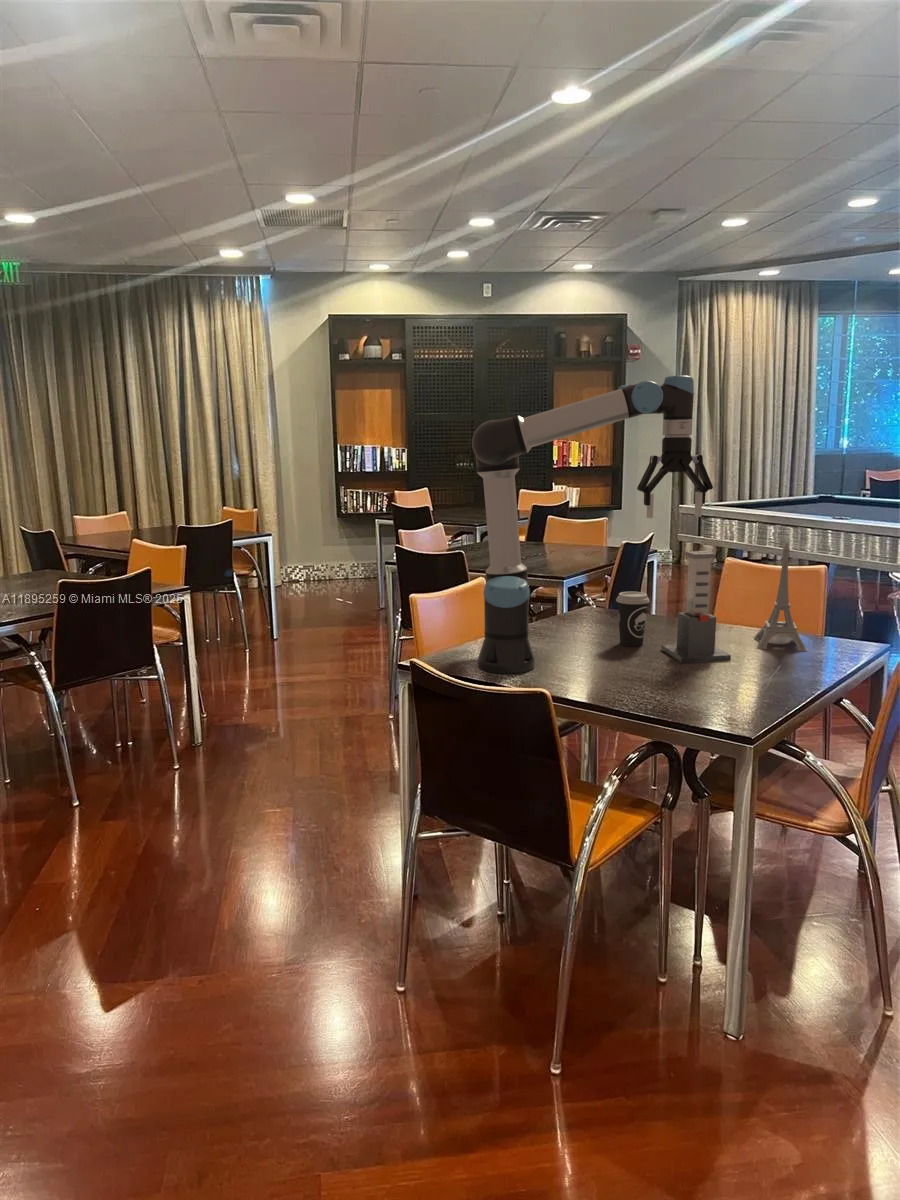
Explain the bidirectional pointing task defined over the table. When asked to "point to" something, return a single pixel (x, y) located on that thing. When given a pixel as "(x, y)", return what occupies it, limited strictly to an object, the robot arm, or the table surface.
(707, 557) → the column
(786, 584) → the eiffel tower
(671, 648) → the stand base
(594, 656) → the table surface
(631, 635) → the coffee cup
